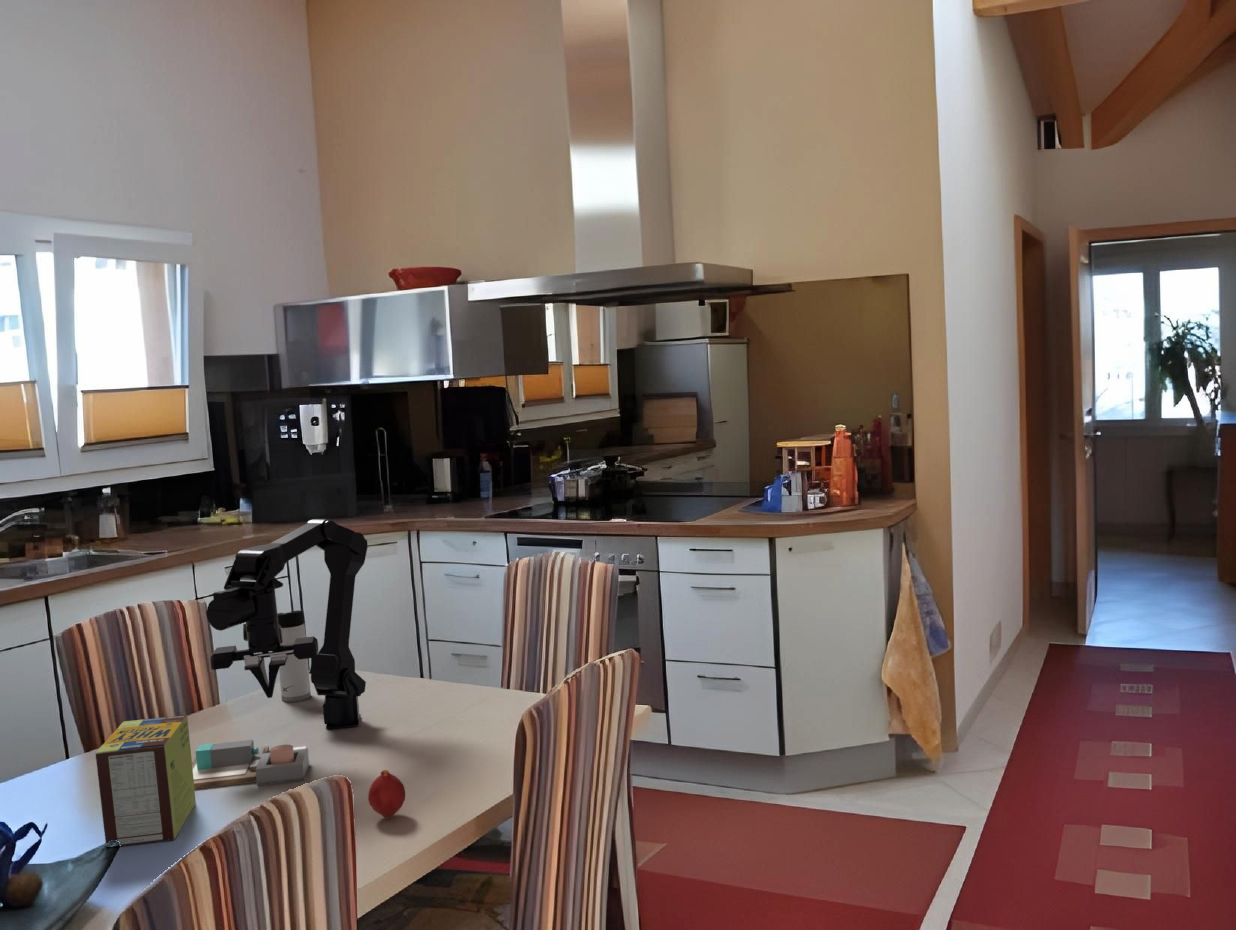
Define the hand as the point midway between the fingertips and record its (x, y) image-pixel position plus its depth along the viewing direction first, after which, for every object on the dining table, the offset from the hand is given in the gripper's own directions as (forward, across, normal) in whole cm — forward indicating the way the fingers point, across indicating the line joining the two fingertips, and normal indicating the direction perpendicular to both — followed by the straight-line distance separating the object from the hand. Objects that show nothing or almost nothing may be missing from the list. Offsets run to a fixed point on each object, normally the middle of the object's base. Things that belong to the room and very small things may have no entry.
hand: (270, 697), depth 202 cm
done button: (+11, -2, +10) cm, 15 cm away
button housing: (+11, -2, +10) cm, 16 cm away
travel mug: (+12, 0, -38) cm, 40 cm away
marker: (+10, +8, +4) cm, 14 cm away
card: (+12, -2, -1) cm, 12 cm away
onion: (+12, -21, +36) cm, 43 cm away
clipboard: (+11, +8, +4) cm, 15 cm away
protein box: (+11, +17, +26) cm, 33 cm away
